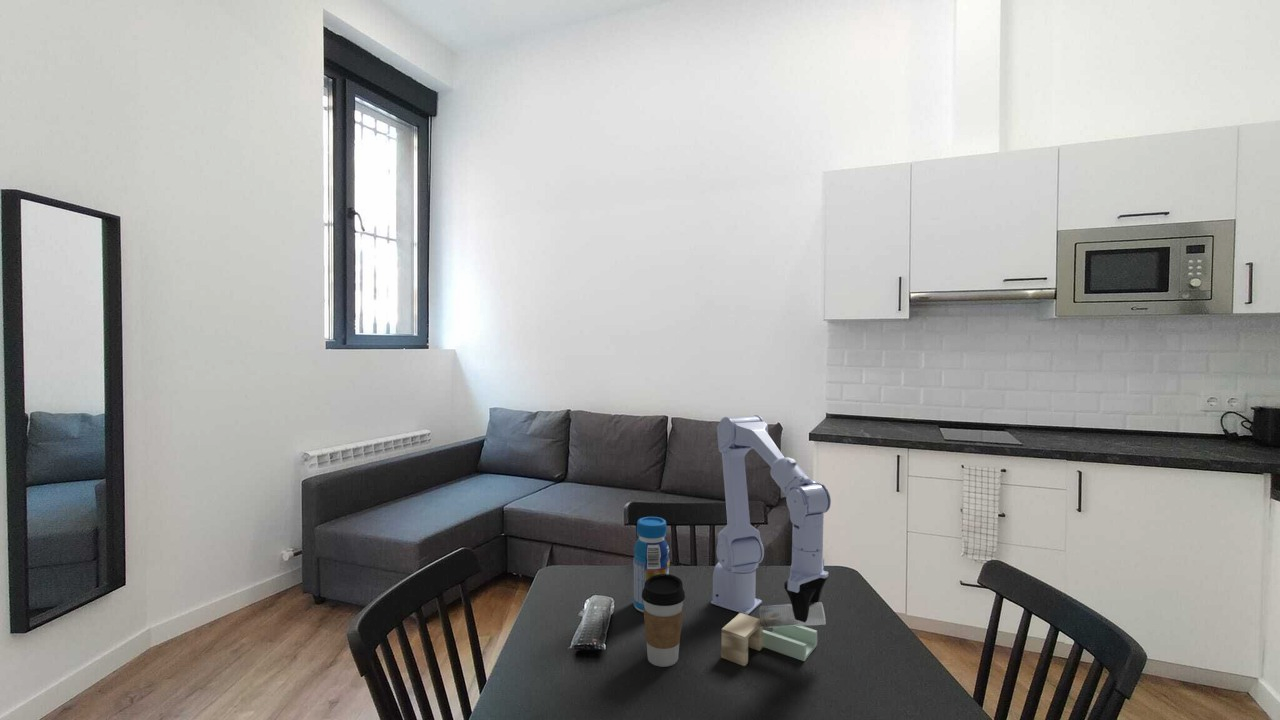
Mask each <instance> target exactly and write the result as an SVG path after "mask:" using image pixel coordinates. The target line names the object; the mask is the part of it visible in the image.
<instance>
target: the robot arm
mask: <svg viewBox="0 0 1280 720" xmlns="http://www.w3.org/2000/svg"><path fill="white" fill-rule="evenodd" d="M716 434H717V437H716V438H717V445H718V452H720V453H721V461H722V462H721V463H722V472H723V483H724V484H723V485H724V486H723V487H724V496H725V497H724V498H725V499H724V500H725V507H726V508H725V509H726V520H727V521H726V522H727V524H726V525H725V526H724V527H723V528H722V529H721V530H720V531H719V532H718V533H717V544H716V558H717V561H718V562H717V564H715V566H714V569H713V573H712V600H711V601H710V603H711V604H712V605H715V606H718V607H720V608H724V609H726V610H729V611H734V612H736V613H738V614H739V613H742V614H746V615H749V614H750V613H752V612H753V611H754V610H755V609H756V608H757V607H758V606H760V605H761V604H762V602H763V601H762V600H761V599H759V598H756V580H757V579H756V577H757V576H756V573H757V572H756V569H759V564H760V563H762V562H763V560H764V557H765V556H764V555H765V549H764V548H765V547H764V544H763V543H762V539H761V533H760V531H759V530H758V529H757V528H755V527H754V526H753V525H752V524H751V519H750V509H749V507H750V506H749V496H748V484H747V474H746V461H745V460H746V458H745V457H746V455H747V454H748V452H749V451H750V450H752V449H753V450H754V451H755V452H756V453H757V454H758V455H759V456H760V457H761V458H762V459H763V461H765V462H766V464H768V466H769V467H770V471H769V473H770V477H771V478H772V479H773V480H774V482H775V483H776V485H777V486H778V487H779V488H780V490H781V491H782V493H784V495H785V496H786V500H785V501H786V506H787V509H788V510H789V519H790V522H791V523H792V532H791V533H792V535H791V537H792V538H791V540H792V541H791V543H792V544H791V565H790V570H789V571H790V572H789V578H788V579H787V580H786V581H785V582H783V583H784V585H783V586H784V590H785V591H786V594H787V595H788V597H789V600H790V604H792V608H793V613H794V617H795V620H798V621H802V622H806V621H807V618H808V613H809V606H810V603H814V602H820V598H821V594H822V591H823V588H824V586H825V584H826V582H827V580H828V578H829V571H825V570H824V567H825V558H824V557H823V553H824V552H823V551H824V549H823V547H824V516H825V515H824V514H825V513H827V512H828V511H830V508H831V503H832V501H831V500H832V499H831V494H830V492H829V490H828V489H827V488H826V486H825V484H824V483H822V482H816V481H815V480H812V479H811V478H810V477H809V476H808V475H807V474H806V473H805V471H804V470H803V469H802V468H801V467H800V465H799V464H798V462H797V461H796V459H795V458H791V457H785V456H784V455H783V453H782V452H781V450H780V449H779V448H778V446H777V445H776V443H775V442H774V440H773V439H772V437H771V436H770V435H769V426H768V423H767V422H766V421H765V419H764V418H763V417H762V416H760V415H758V414H757V415H749V416H746V415H745V416H734V417H733V416H732V417H731V416H730V417H729V416H724V417H722V418H721V419H720V421H719V422H718V425H717V427H716Z"/></svg>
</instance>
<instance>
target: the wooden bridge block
mask: <svg viewBox="0 0 1280 720" xmlns="http://www.w3.org/2000/svg"><path fill="white" fill-rule="evenodd" d="M763 630H764V628H762V625H761V622H760V618H759V617H755V616H751V615H749V614H748V615H746V614H742V613H739V612H738V614H737V615H736V616H735V617H734V618H732V619H731V620H730V621H729V622H728V623H727V624H725V625H724V626H723V627H722V628H721V645H720V646H721V651H720V654H721V655H720V656H721V657H720V658H722V659H725V660H727V661H730V662H733V663H735V664H737V665H740V666H742V667H746V666H747V664H748V663H749V648H751V649H753V650H755V651H759V652H760V651H761V650H762V649H763V647H762V638H763Z"/></svg>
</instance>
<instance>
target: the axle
mask: <svg viewBox="0 0 1280 720" xmlns="http://www.w3.org/2000/svg"><path fill="white" fill-rule="evenodd" d="M758 611H759V612H758V613H759V619H760V622H761V625H762V628H763V629H767V628H768V629H771V628H772V629H773V627H791V626H804V627H807V626H820V625H821V626H823V625H826V621H827V620H826V615H825V609H824V605H823V602H822V601H819V602H814V603H810V606H809V613H808V618H807V621H806V622H802V621H798V620H795V617H794V613H793V608H792V604H791V603H790V604H789V603H788V604H775V605H759V609H758Z"/></svg>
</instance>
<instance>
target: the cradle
mask: <svg viewBox="0 0 1280 720" xmlns="http://www.w3.org/2000/svg"><path fill="white" fill-rule="evenodd" d="M817 646H818V630H816V629H813V628H811V627H807V626H791V627H773V628H772V631H768V630H765V629H763V638H762V648H764V649H768V650H771V651H774V652H776V653H779V654H782V655H784V656H788V657H790V658H794V659H796V660H799V661H802V662H805V661H806V660H807V658H808V657H810V655H811V654H812V652H813V651H814V650H815V648H816V647H817Z"/></svg>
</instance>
